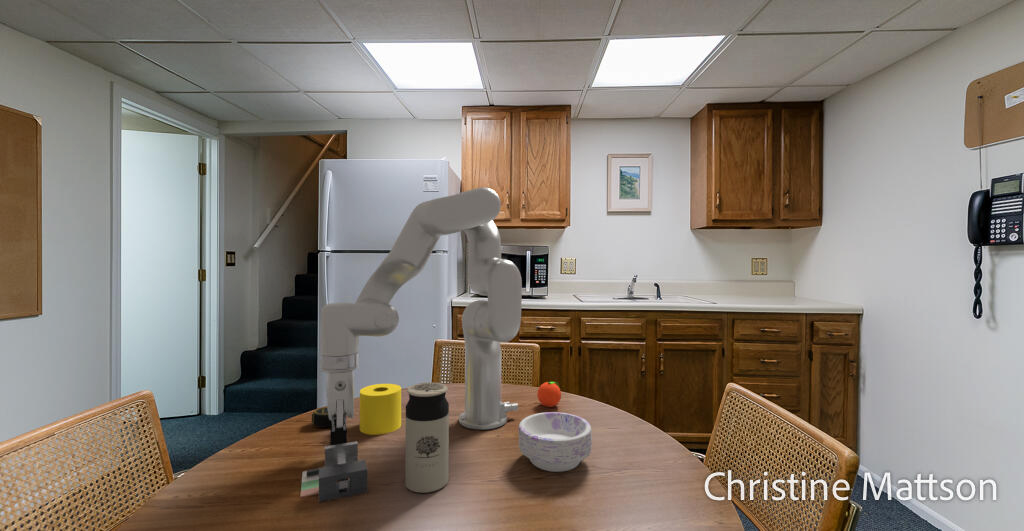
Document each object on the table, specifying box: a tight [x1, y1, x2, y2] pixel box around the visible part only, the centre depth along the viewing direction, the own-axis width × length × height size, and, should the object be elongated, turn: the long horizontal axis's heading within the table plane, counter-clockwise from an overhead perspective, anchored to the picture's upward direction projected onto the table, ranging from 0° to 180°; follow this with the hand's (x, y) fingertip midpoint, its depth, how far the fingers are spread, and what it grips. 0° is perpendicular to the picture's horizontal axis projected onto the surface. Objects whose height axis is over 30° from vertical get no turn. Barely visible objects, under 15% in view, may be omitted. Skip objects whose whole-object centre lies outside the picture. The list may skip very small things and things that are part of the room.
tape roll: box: [359, 383, 402, 436], centre depth 106 cm, size 10×10×9 cm
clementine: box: [536, 381, 562, 408], centre depth 122 cm, size 8×7×7 cm
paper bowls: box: [518, 411, 593, 473], centre depth 88 cm, size 15×15×8 cm
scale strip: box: [299, 470, 319, 498], centre depth 79 cm, size 3×10×1 cm, turn 24°
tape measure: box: [311, 406, 332, 428], centre depth 107 cm, size 7×7×4 cm
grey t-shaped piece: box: [306, 440, 359, 489], centre depth 78 cm, size 9×10×5 cm
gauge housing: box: [318, 459, 369, 503], centre depth 76 cm, size 8×4×4 cm, turn 114°
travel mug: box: [404, 382, 450, 494], centre depth 79 cm, size 8×8×18 cm
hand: (338, 447), depth 89 cm, fingers closed
